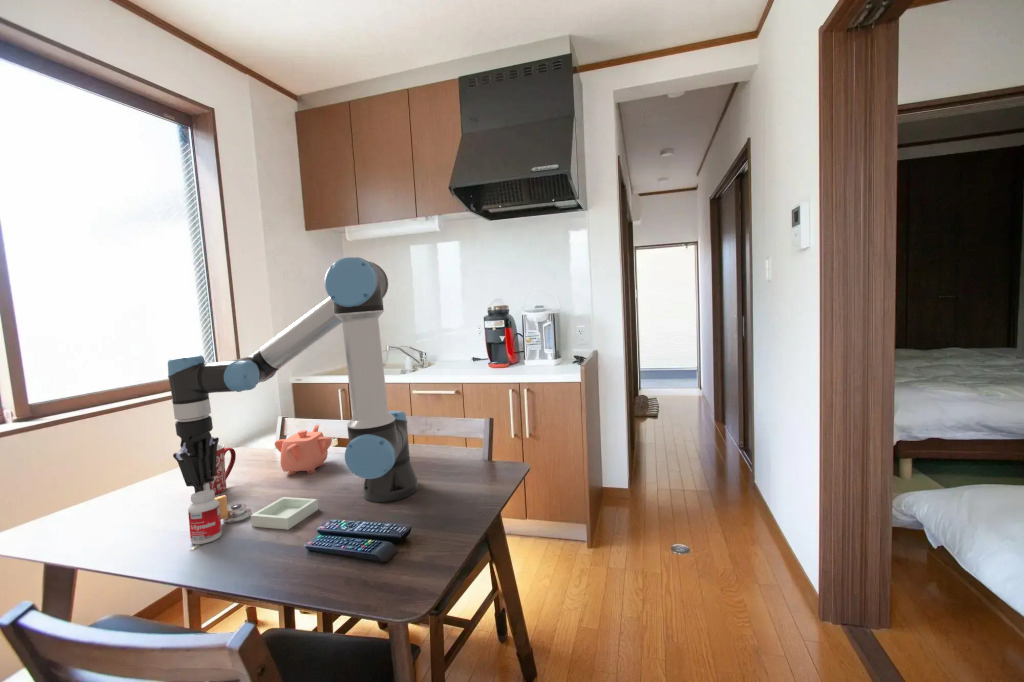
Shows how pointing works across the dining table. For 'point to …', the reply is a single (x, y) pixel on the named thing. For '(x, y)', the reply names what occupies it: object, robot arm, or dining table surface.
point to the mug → (222, 469)
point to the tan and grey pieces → (230, 508)
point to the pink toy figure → (303, 451)
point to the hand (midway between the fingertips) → (205, 508)
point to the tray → (284, 513)
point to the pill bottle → (204, 517)
